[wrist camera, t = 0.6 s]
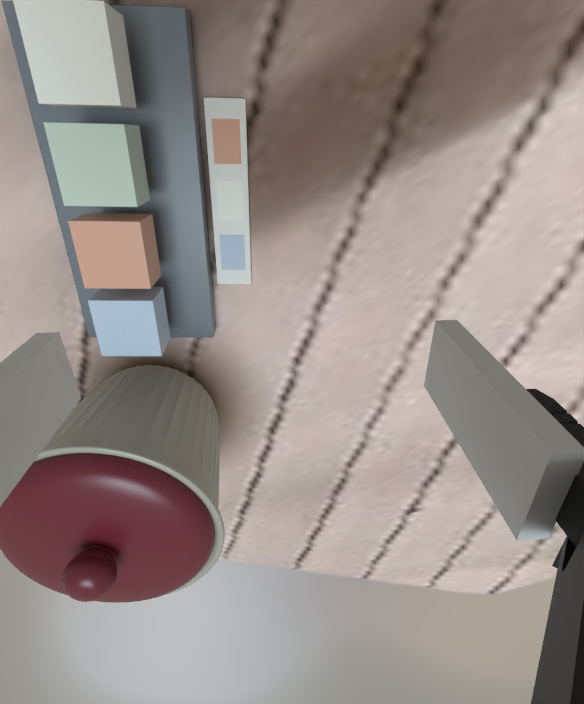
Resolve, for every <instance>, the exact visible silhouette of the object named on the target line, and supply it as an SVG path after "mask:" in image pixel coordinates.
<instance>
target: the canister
mask: <svg viewBox="0 0 584 704" xmlns="http://www.w3.org/2000/svg"><path fill="white" fill-rule="evenodd" d="M218 499H219V419H218V415H217V410H216V407H215V405H214V404H213V400H212V398H211V397H210V396H209V395H208V392H207V391H206V390H205V389H204V388H203V387H202V385H201V384H200V383H198V382H196V381H195V380H194V378H191V377H189V376H188V375H187V374H186V373H182V372H180V371H178V370H177V369H172V368H169V367H163V366H159V365H148V364H147V365H144V366H140V365H137V366H134V367H132V368H126V369H124V370H122V371H119V372H116V373H114V374H113V375H112V376H110V377H108V378H106V379H105V380H104V381H103V382H101V383H100V384H99V385H98V386H97V387H96V388H95V389H94V390H93V391H92V392H91V393H89V394H88V395H87V396H86V397H85V398H84V399H83V400H82V401H81V402H80V403H79V404H78V405H77V406H76V407H75V408H74V409H73V410H72V411H71V412H70V414H69V415H68V416H67V418H66V419H65V420H64V422H63V423H62V424H61V426H60V427H59V428H58V430H57V431H56V432H55V434H54V435H53V436H52V438H51V439H50V440H49V442H48V443H47V444H46V446H45V447H44V448H43V450H42V451H41V453H40V454H39V455H38V457H37V458H36V459H35V461H34V462H33V463H32V465H31V466H30V467H29V469H28V470H27V471H26V473H25V474H24V475H23V477H22V478H21V479H20V481H19V482H18V483H17V485H16V486H15V487H14V489H13V490H12V492H11V493H10V494H9V496H8V497H7V498H6V500H5V501H4V502H3V504H2V505H1V506H0V552H1V554H2V555H3V556H5V558H7V559H8V560H9V561H10V562H11V563H12V564H13V565H14V566H15V567H16V568H17V569H18V570H19V571H20V572H22V573H23V574H24V575H26V576H27V577H29V578H30V579H32V580H34V581H35V582H37V583H39V584H41V585H43V586H45V587H47V588H49V589H52V590H54V591H57V592H60V593H63V594H66V595H69V596H70V597H71V598H73V599H75V600H78V601H85V602H86V601H100V602H134V601H141V600H147V599H152V598H155V597H159V596H162V595H165V594H169V593H172V592H175V591H178V590H180V589H183V588H185V587H187V586H189V585H191V584H192V583H194V582H196V581H197V580H199V579H200V578H202V577H203V576H204V575H205V574H206V573H207V572H208V571H209V570H210V569H211V568H212V567H213V566H214V564H215V563H216V561H217V560H218V558H219V556H220V554H221V552H222V548H223V544H224V525H223V521H222V517H221V515H220V512H219V510H218Z"/></svg>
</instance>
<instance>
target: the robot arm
mask: <svg viewBox="0 0 584 704" xmlns="http://www.w3.org/2000/svg"><path fill="white" fill-rule="evenodd" d="M424 386H425V388H426V390H427V391H428V393H429V395H430V396H431V398H432V400H433V401H434V403H435V405H436V406H437V408H438V410H439V411H440V413H441V415H442V416H443V418H444V420H445V421H446V423H447V425H448V426H449V428H450V430H451V431H452V433H453V435H454V436H455V438H456V440H457V441H458V443H459V445H460V446H461V448H462V450H463V451H464V453H465V455H466V456H467V458H468V460H469V461H470V463H471V465H472V466H473V468H474V470H475V471H476V473H477V475H478V476H479V478H480V480H481V481H482V483H483V485H484V486H485V488H486V490H487V491H488V493H489V495H490V496H491V498H492V500H493V501H494V503H495V505H496V506H497V508H498V510H499V511H500V513H501V515H502V516H503V518H504V520H505V521H506V523H507V525H508V526H509V528H510V530H511V531H512V533H513V535H514V536H515V538H516V540H531V539H548V538H549V536H550V534H551V532H552V530H553V527H554V525H555V523H556V521H557V523H558V524H559V525H560V527H561V528H562V530H563V531H564V532H565V534H566V535H567V537H566V539H565V541H564V543H563V545H562V547H561V549H560V551H559V553H558V555H557V557H556V559H555V561H554V563H553V565H552V566H554V567H556V568H558V570H557V575H556V580H555V585H554V590H553V595H552V600H551V606H550V610H549V615H548V621H547V625H546V630H545V636H544V641H543V646H542V651H541V656H540V661H539V666H538V671H537V676H536V681H535V686H534V691H533V696H532V701H531V704H584V427H583V426H582V425H581V424H578V423H577V420H575V419H574V418H573V417H572V416H571V415H570V414H567V411H566V410H565V409H564V408H563V407H562V406H561V405H560V404H558V403H557V402H556V401H555V400H554V399H553V398H551V397H549V396H547V395H546V394H544V393H542V392H540V391H538V390H537V389H525V388H524V387H523V386H522V385H521V384H520V383H519V382H518V381H517V380H516V379H515V378H514V377H513V376H512V375H511V374H510V373H509V372H508V371H507V370H506V369H505V368H504V367H503V366H502V365H501V364H500V363H499V362H498V361H497V360H496V359H495V358H494V357H493V356H492V355H491V354H490V353H489V352H488V351H487V350H486V349H485V348H484V347H483V346H482V345H481V344H480V343H479V342H478V341H477V340H476V339H475V338H474V337H473V336H472V335H471V334H470V333H469V332H468V331H467V330H466V329H465V328H464V327H463V326H462V325H461V324H460V323H459V322H458V321H457V320H441V321H435V326H434V332H433V338H432V344H431V349H430V355H429V361H428V367H427V372H426V378H425V384H424ZM80 399H81V396H80V393H79V390H78V387H77V384H76V381H75V378H74V375H73V372H72V369H71V366H70V363H69V360H68V357H67V354H66V351H65V348H64V345H63V342H62V339H61V336H60V333H59V332H55V333H36V334H35V335H34V336H32V337H31V338H30V339H29V340H28V341H26V342H25V343H24V344H23V345H21V346H20V347H19V348H18V349H17V350H15V351H14V352H13V353H12V354H11V355H9V356H8V357H7V358H6V359H4V360H3V361H2V362H1V363H0V506H1V505H2V504H3V502H4V501H5V500H6V498H7V497H8V496H9V494H10V493H11V492H12V490H13V489H14V487H15V486H16V485H17V483H18V482H19V481H20V479H21V478H22V477H23V475H24V474H25V473H26V471H27V470H28V469H29V467H30V466H31V465H32V463H33V462H34V461H35V459H36V458H37V457H38V455H39V454H40V453H41V451H42V450H43V448H44V447H45V446H46V444H47V443H48V442H49V440H50V439H51V438H52V436H53V435H54V434H55V432H56V431H57V430H58V428H59V427H60V426H61V424H62V423H63V422H64V420H65V419H66V418H67V416H68V415H69V414H70V412H71V411H72V409H73V408H74V407H75V405H76V404H77V403H78V401H79V400H80Z"/></svg>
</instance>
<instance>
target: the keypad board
mask: <svg viewBox="0 0 584 704" xmlns="http://www.w3.org/2000/svg"><path fill="white" fill-rule="evenodd" d="M2 4H3V8H4V12H5V16H6V20H7V23H8V27H9V31H10V35H11V39H12V43H13V46H14V50H15V54H16V58H17V62H18V66H19V69H20V73H21V77H22V81H23V85H24V89H25V93H26V96H27V100H28V104H29V108H30V112H31V116H32V119H33V123H34V127H35V131H36V135H37V139H38V143H39V146H40V150H41V154H42V158H43V162H44V166H45V169H46V173H47V177H48V181H49V185H50V189H51V193H52V196H53V200H54V204H55V208H56V212H57V216H58V219H59V223H60V227H61V231H62V235H63V239H64V242H65V246H66V250H67V254H68V258H69V262H70V266H71V269H72V273H73V277H74V281H75V285H76V289H77V292H78V296H79V300H80V304H81V308H82V312H83V316H84V319H85V323H86V327H87V331H88V335H89V337H97V336H96V332H95V328H94V323H93V319H92V315H91V311H90V307H89V303H88V300H89V299H90V298H91V297H92V296H93V295H95V294H96V293H97V292H98V291H99V290H100V289H101V288H85V287H84V283H83V279H82V275H81V271H80V267H79V263H78V259H77V255H76V251H75V247H74V243H73V239H72V235H71V231H70V227H69V223H68V221H69V220H71V219H74V218H76V217H78V216H81V215H83V214H86V213H131V214H152V216H153V223H154V229H155V236H156V243H157V250H158V257H159V263H160V270H161V277H160V278H159V279H158V280H157V282H156V283H155V284H154V285H153V287H163V291H164V297H165V304H166V311H167V318H168V325H169V331H170V337H214V333H215V330H216V323H215V310H214V298H213V286H212V274H211V262H210V250H209V238H208V226H207V214H206V202H205V189H204V177H203V165H202V153H201V141H200V129H199V117H198V105H197V93H196V81H195V68H194V56H193V44H192V32H191V20H190V14H189V13H188V12H187V10H186V9H185V8H184V7H157V6H129V5H110V6H111V7H112V8H114V9H115V10H116V11H117V12H119V13H120V14H121V15H123V19H124V26H125V32H126V39H127V46H128V53H129V59H130V66H131V73H132V80H133V87H134V93H135V100H136V107H137V109H132V108H92V107H61V106H53V105H45V104H39V103H38V99H37V95H36V91H35V87H34V83H33V79H32V75H31V71H30V67H29V63H28V59H27V55H26V51H25V47H24V43H23V39H22V35H21V31H20V27H19V23H18V19H17V15H16V11H15V7H14V3H13V1H2ZM43 122H48V123H91V124H128V125H139V127H140V134H141V141H142V148H143V155H144V161H145V168H146V175H147V182H148V189H149V195H150V201H148V202H146V203H144V204H142V205H140V206H138V207H103V206H64V203H63V199H62V195H61V191H60V187H59V183H58V179H57V175H56V171H55V167H54V163H53V159H52V155H51V151H50V147H49V143H48V139H47V135H46V131H45V127H44V123H43Z"/></svg>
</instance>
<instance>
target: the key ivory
mask: <svg viewBox="0 0 584 704" xmlns="http://www.w3.org/2000/svg"><path fill="white" fill-rule="evenodd" d="M13 3H14V7H15V11H16V15H17V19H18V23H19V27H20V31H21V35H22V39H23V43H24V47H25V51H26V55H27V59H28V63H29V67H30V71H31V75H32V79H33V83H34V87H35V91H36V95H37V99H38V103H39V104H45V105H53V106H61V107H92V108H132V109H137V107H136V100H135V93H134V87H133V80H132V73H131V66H130V59H129V53H128V46H127V39H126V32H125V26H124V19H123V15H121V14H120V13H119V12H117V11H116V10H115V9H114V8H112V7H111V6H110V5H108V4H107V3H106V2H105V1H94V0H13Z"/></svg>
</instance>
